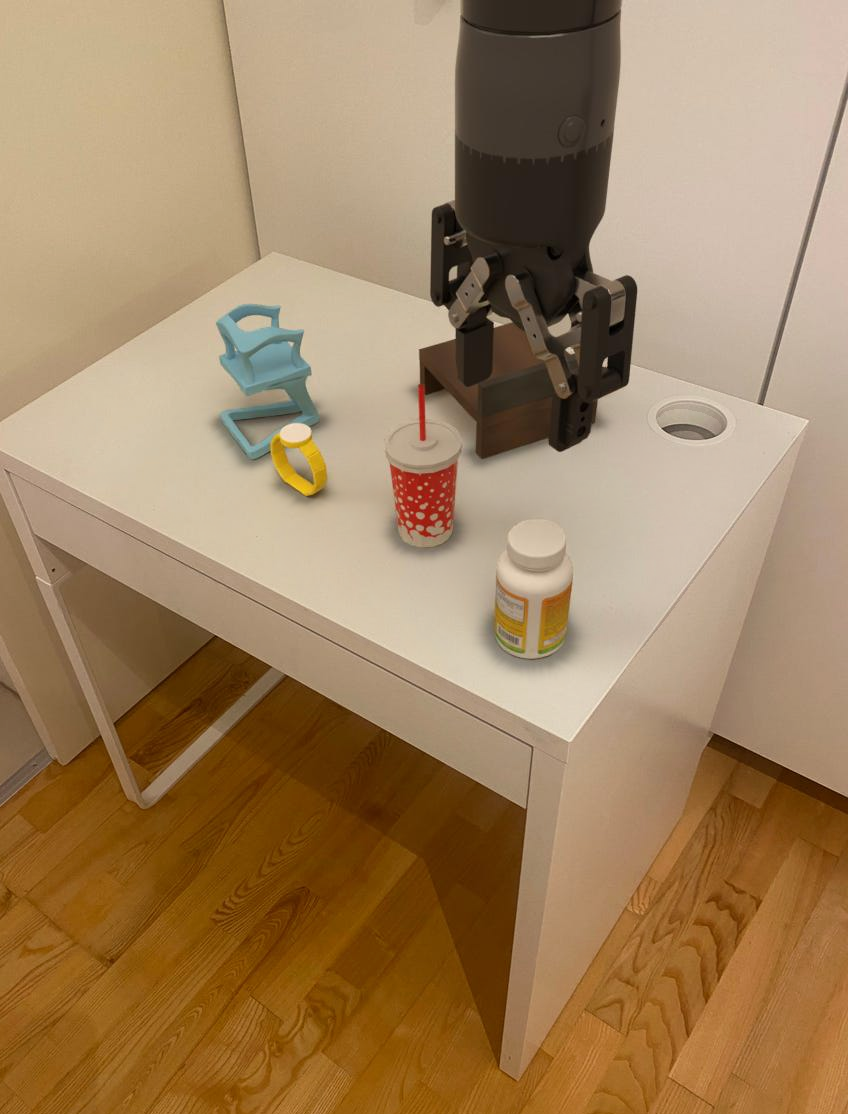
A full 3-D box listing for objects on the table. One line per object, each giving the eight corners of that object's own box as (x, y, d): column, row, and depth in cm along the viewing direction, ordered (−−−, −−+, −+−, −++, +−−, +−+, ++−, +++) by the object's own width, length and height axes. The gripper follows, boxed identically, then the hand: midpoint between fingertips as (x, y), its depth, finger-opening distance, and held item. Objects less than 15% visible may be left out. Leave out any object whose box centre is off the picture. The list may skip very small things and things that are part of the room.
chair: (330, 433, 94) (318, 316, 85) (250, 461, 92) (229, 344, 83) (297, 394, 99) (282, 281, 90) (220, 420, 97) (197, 306, 88)
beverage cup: (457, 556, 81) (458, 410, 71) (384, 551, 82) (373, 407, 72) (465, 508, 85) (466, 364, 75) (395, 504, 86) (386, 361, 76)
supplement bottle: (564, 610, 76) (575, 511, 69) (567, 662, 72) (579, 564, 65) (494, 608, 77) (497, 511, 70) (493, 660, 73) (497, 562, 66)
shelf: (526, 357, 101) (530, 288, 95) (595, 422, 92) (604, 350, 87) (419, 389, 98) (417, 320, 93) (481, 459, 90) (483, 387, 84)
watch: (268, 480, 90) (258, 425, 85) (291, 466, 91) (282, 411, 86) (313, 508, 86) (305, 452, 82) (336, 493, 88) (329, 437, 83)
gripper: (704, 141, 44) (651, 444, 56) (502, 65, 52) (493, 341, 64) (574, 188, 41) (548, 495, 53) (384, 101, 50) (398, 382, 62)
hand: (518, 411), depth 59 cm, fingers open, 8 cm apart
